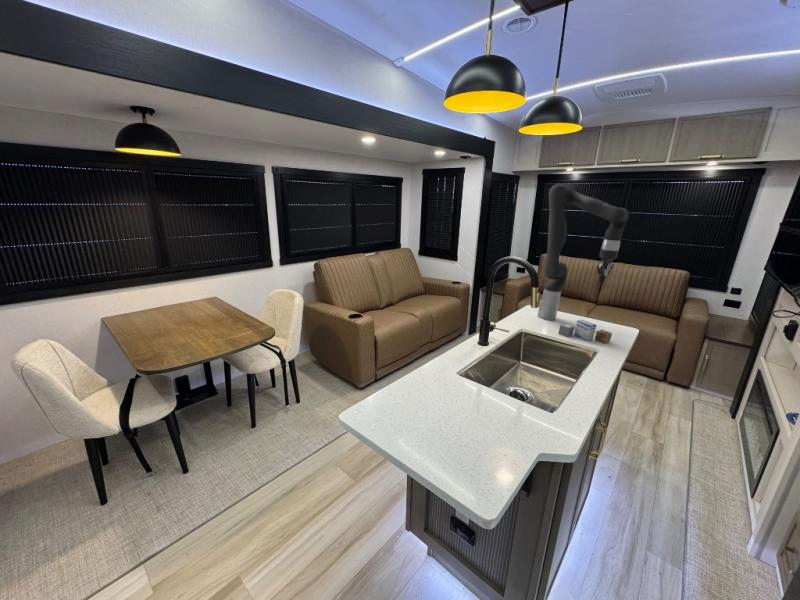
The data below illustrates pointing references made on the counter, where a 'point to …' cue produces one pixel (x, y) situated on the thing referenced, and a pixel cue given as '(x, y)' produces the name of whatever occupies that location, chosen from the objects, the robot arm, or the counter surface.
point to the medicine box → (584, 330)
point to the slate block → (566, 330)
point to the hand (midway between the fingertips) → (601, 282)
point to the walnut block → (603, 336)
